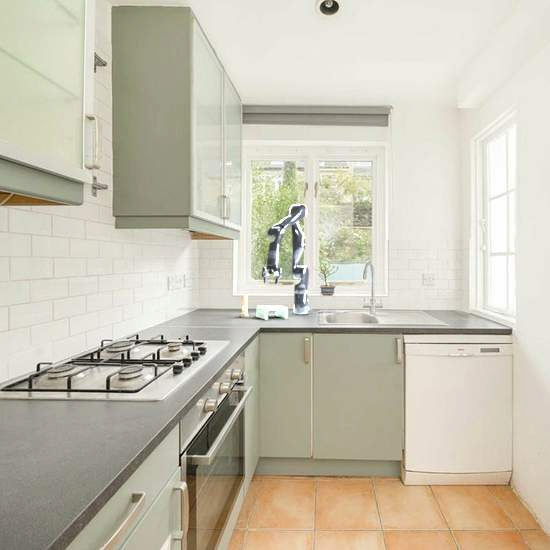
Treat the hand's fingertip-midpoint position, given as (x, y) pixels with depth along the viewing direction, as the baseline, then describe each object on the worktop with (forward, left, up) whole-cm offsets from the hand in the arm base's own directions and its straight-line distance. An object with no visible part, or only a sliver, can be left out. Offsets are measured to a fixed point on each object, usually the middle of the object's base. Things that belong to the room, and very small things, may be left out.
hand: (270, 284), depth 292 cm
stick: (+10, -17, -22) cm, 30 cm away
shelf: (-4, -5, -22) cm, 23 cm away
